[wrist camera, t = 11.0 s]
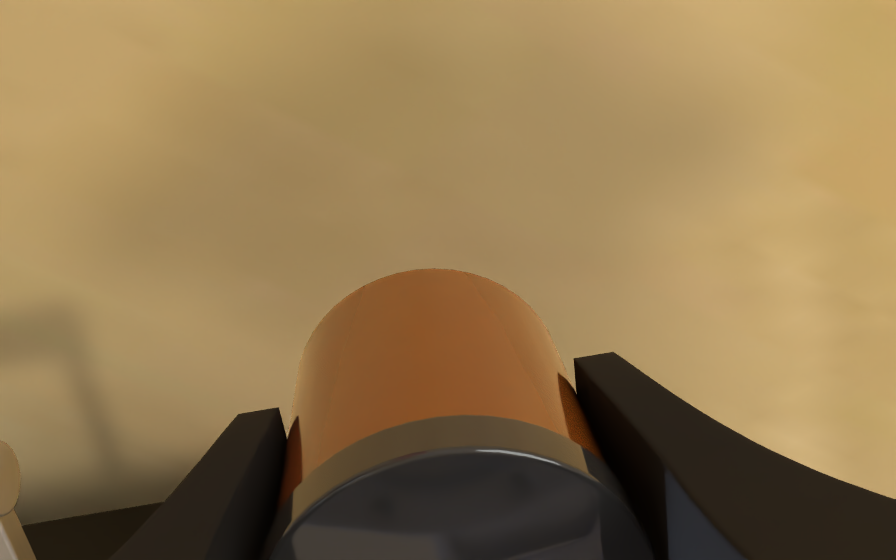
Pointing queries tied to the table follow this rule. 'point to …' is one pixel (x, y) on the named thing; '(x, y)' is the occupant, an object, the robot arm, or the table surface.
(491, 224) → the table surface
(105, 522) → the drawer
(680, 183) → the table surface
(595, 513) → the jar
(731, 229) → the table surface
